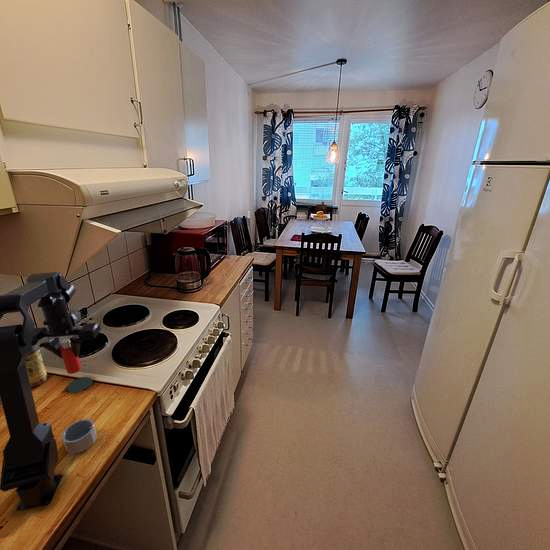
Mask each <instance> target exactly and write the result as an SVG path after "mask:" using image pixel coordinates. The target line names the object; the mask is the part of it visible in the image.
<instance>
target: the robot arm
mask: <svg viewBox="0 0 550 550" xmlns="http://www.w3.org/2000/svg"><path fill="white" fill-rule="evenodd" d="M25 282H26V283H24V284H22V285H20V286H18V287H16V288H15V289H12V290H10V291H8V292H6V293H4V294H1V295H0V320H1V319H2V318H3V317H4V315H5V314H6V315H7V314H13V313H20V314H21V316H22V317H23V319H22V324H21V323H19V324H18V323H17V324H11V325H3V326H0V403H1V407H2V411H3V414H4V417H5V423H6V426H7V430H8V434H9V438H8V440H7V441H6V444H5V446H4V448H3V450H2V457H3V458H2V463H1V472H0V473H1V474H0V491H1V492H4V493H5V492H8V491H11V490H14V489H15V493H16V494H17V497H18V498H19V500H20V501H19V503H18V505H17V506H16V509H15V510H16V511H17V512H20V511H25V510H29V509H30V510H31V509H35V508H39V507H45V506H49V505H50V504H51V503H52V501H53V499H54V497H55V495H56V492H57V490H58V488H59V486H60V484H61V481H62V479H63V477H64V476H63V474H56V473H55V471H56V468H57V467H58V463H59V458H60V457H59V450H58V443H57V440H56V439H55V434H54V433H53V429H52V424H51V423H50V422H44V423H41V422H40V420H39V416H38V412H37V407H36V404H35V399H34V395H33V391H32V387H31V386H30V381H29V377H28V373H27V369H26V364H25V362H26V360H27V358H28V356H29V354H30V352H31V350H32V346H35V345H37V344H38V343H39V345H38V347H39V348H44V349H45V350H47V351H49V352H51V353H52V354H54V355H55V356H57V357H58V358H59V359H62V360H63V358H62V355H61V352H60V347H61V346H62V344H61V341H60V338H65V337H66V338H68V337H72V339H71V340H70V345H71V348H72V350H73V352H74V354H75V356H76V357H79V355H80V352H81V351H80V350H81V346H82V343H83V342H85V341H93V340H95V339H96V338H97V337H98V335H99V333H100V332H101V330H102V327H101V325H100V324H99V323H98V322H90V323H88V322H87V323H84V324H83V326H81V327H80V326H79V327H77V326H78V323H79V322H82V317H81V311H72V310H69V308H68V304H69V303H70V302H71V300H72V298H73V297H74V296H75V294H76V287H75V286H74V285H73V284H72V283H70V282H69V281H68V280H67V279H66V277H65V276H64V275H61V273H60V271H53V272H52V271H51V272H40V273H31V274H30V275H29V276H28V277H27V278H26V279H25ZM37 301H38V303H37V307H38V308H41V311H42V314H43V317H44V320H43V321H42V324H43V326H44V327H36V326H35V325H36V323H35V321H34V320H33V318H32V317H31V315H30V314H29V308H30V307H31V305H33V304H34V303H36V302H37ZM46 326H47V327H46ZM75 327H76V328H75Z"/></svg>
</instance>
